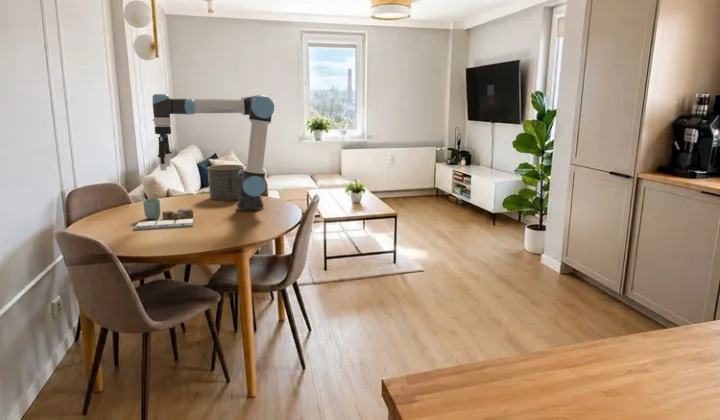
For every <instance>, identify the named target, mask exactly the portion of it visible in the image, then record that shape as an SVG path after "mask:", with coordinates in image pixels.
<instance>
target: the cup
mask: <svg viewBox="0 0 720 420" xmlns="http://www.w3.org/2000/svg"><path fill="white" fill-rule="evenodd" d="M142 202H143V203H142V204H143V205H142V206H143V211H144V215H145V217H146V219H148V220H157V219H159V218H160V216H161V202H160V199H159V198H147V199H144V200H142Z"/></svg>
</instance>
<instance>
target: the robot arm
mask: <svg viewBox="0 0 720 420" xmlns="http://www.w3.org/2000/svg"><path fill="white" fill-rule="evenodd" d="M152 111H153V112H152V113H153V119H152V122H154V133H155V135H159V136H158V138H157V139H158V155H157V157H158V158H159V167H160V168H159V169H160V171H167V170H168V169H167V167H172V166H171V155H170V154H172V151H171V150H170V141H169V135H171V134H172V127H171V125H172V123H171V115H187V116H188V115H195V114H242V115H243V116H248V120H249V121H250V122H251V124H250V125H251V126H250V134H249V135H250V136H249V145H248V152H247V153H248V154H247V162H246V163H247V164H246V168H244V170H239V171H238V177H239V195H240V196H239V200H237V204H236V209H237V210H238V211H240V210H242V211H241V212H254V211H253V210H257V211H259V210H258V209H261V208H263V207H265V205H264V202H263V200H262V197H261V195H262V194H263V193H264V192H265V190H266V185H267V184H266V181H265V179H266V171H265V170H264V163H265V153H266V144H267V136H268V135H267V134H268V126H269V125H270V124H271V123H272V117H273V116H272V115H273V114H274V111H275V103H274V101H273V99H271V98H270V97H269V96H267V95H263V94H257V95H251V96H245V97H244V96H242V97H241V98H170V95H169V94H167V93H166V94H164V93H155V94H153V95H152ZM263 209H264V208H263ZM261 210H262V209H261Z"/></svg>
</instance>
